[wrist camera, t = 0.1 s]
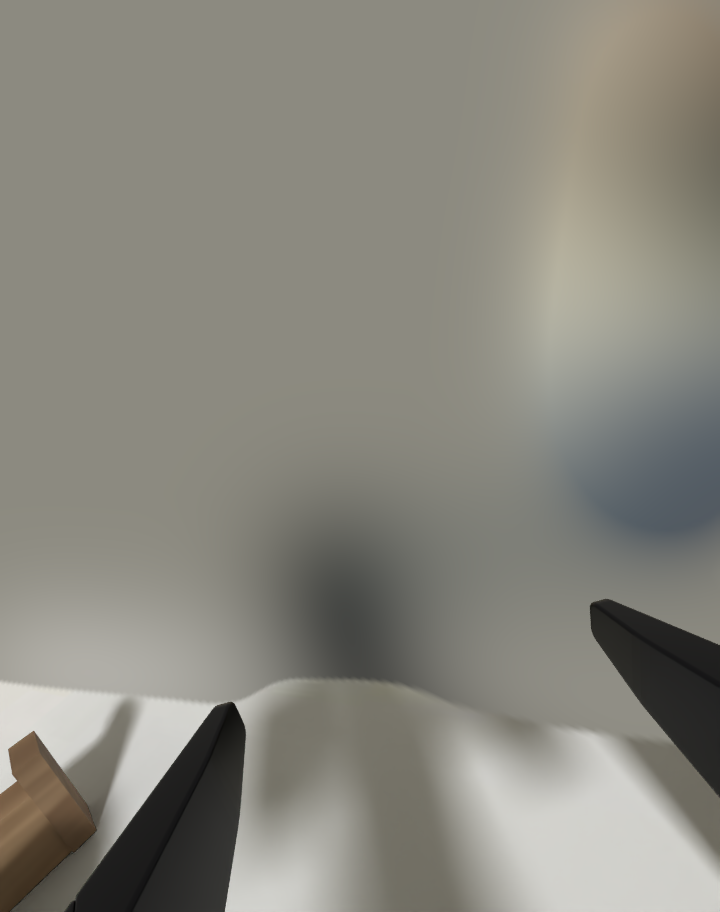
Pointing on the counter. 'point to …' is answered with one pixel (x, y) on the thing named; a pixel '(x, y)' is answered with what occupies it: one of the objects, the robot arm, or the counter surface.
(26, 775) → the rail
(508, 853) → the counter surface
